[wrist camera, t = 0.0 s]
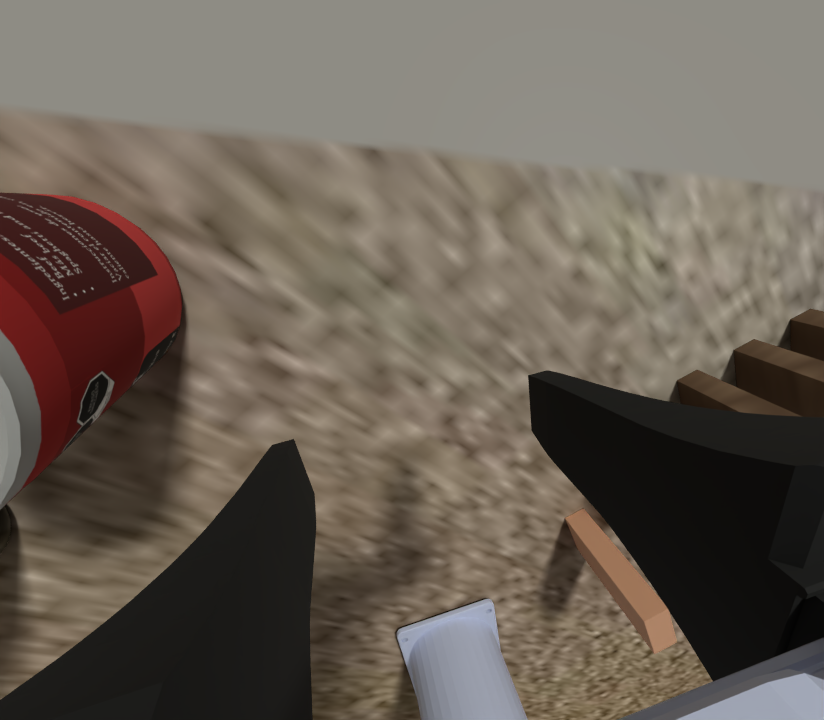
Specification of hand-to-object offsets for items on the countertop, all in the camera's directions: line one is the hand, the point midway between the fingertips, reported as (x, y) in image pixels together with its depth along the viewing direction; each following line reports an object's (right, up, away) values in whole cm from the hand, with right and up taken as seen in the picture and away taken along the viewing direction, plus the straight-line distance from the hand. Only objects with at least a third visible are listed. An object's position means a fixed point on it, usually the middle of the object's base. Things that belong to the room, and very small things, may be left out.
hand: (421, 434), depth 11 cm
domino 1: (+13, -11, +19) cm, 25 cm away
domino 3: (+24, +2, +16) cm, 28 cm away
